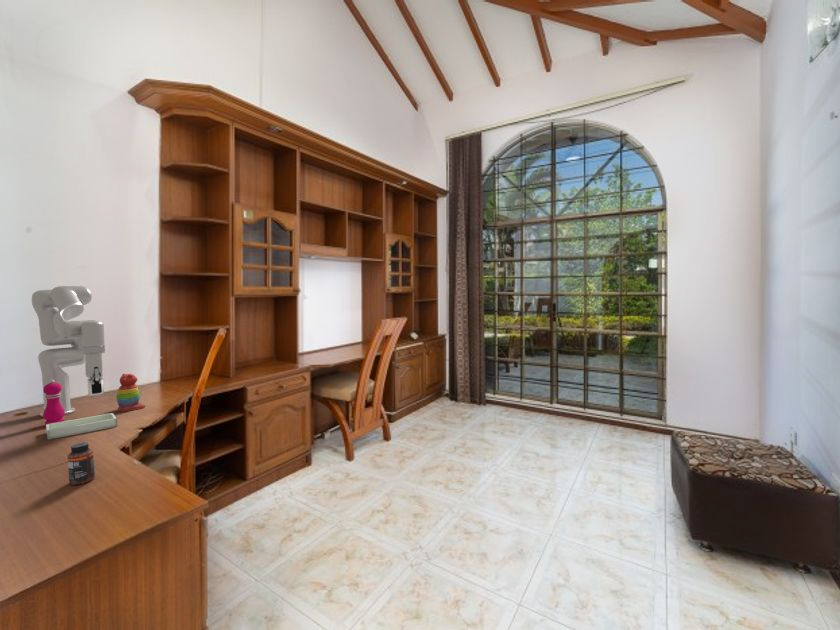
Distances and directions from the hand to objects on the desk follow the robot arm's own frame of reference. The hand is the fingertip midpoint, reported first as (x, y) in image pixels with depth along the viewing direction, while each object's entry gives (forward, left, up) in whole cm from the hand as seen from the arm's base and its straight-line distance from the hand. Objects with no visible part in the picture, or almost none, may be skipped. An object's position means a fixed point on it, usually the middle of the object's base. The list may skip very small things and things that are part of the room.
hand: (95, 391), depth 171 cm
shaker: (0, 0, -1) cm, 1 cm away
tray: (0, -5, -15) cm, 16 cm away
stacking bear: (-24, +15, -16) cm, 32 cm away
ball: (-1, +1, +7) cm, 7 cm away
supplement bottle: (+63, -10, -16) cm, 66 cm away
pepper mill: (-19, -13, -16) cm, 28 cm away
